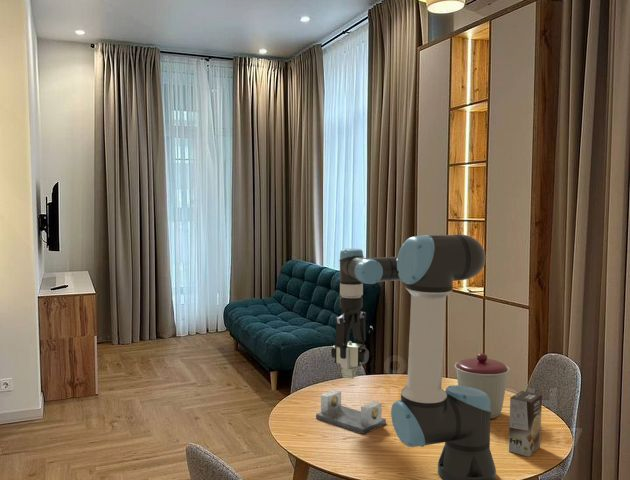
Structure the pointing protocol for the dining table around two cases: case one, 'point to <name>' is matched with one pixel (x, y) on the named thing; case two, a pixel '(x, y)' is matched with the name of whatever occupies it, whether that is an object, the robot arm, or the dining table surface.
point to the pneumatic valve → (351, 358)
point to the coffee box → (525, 423)
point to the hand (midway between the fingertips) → (350, 365)
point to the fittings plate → (350, 414)
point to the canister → (484, 379)
